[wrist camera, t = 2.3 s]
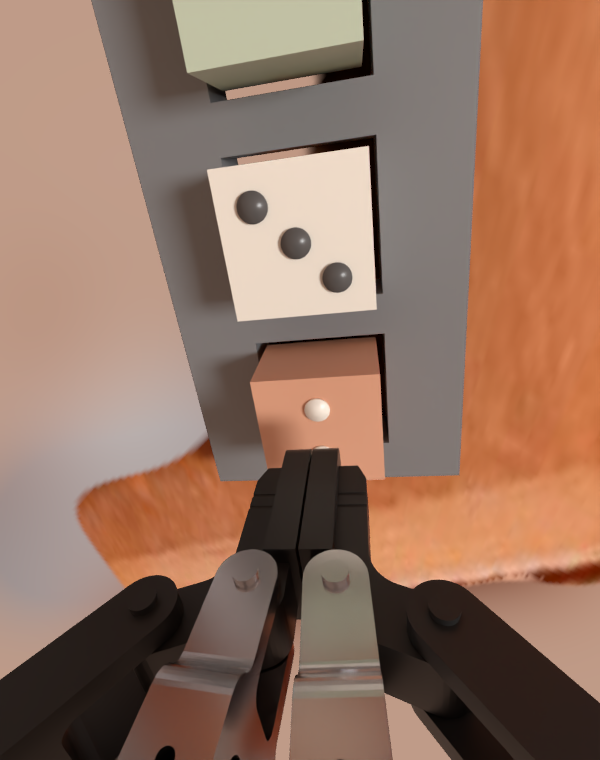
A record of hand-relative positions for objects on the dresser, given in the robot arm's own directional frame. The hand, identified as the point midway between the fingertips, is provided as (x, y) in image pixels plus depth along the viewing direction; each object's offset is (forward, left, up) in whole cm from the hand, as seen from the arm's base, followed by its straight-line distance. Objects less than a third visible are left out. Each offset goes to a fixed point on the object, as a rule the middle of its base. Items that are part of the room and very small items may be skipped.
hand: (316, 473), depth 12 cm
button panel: (-6, 0, -6) cm, 9 cm away
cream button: (-6, 0, -5) cm, 8 cm away
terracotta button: (0, 0, -5) cm, 5 cm away
